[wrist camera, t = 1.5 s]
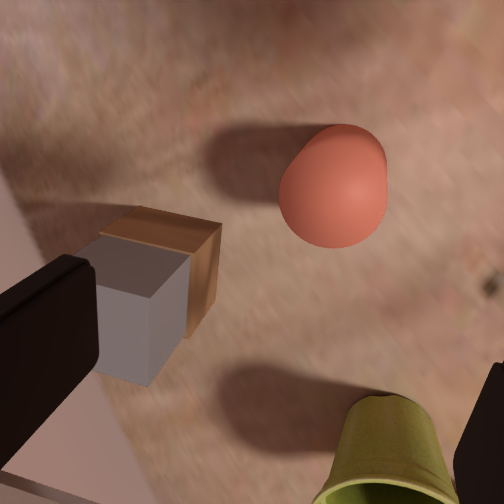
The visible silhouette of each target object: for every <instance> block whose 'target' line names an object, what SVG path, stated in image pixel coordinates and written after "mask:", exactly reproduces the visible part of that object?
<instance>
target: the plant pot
mask: <svg viewBox="0 0 504 504" xmlns="http://www.w3.org/2000/svg"><path fill="white" fill-rule="evenodd" d="M311 504H459V500H458V496H457V495H456V493H455V491H454V488H453V485H452V482H451V479H450V476H449V473H448V470H447V467H446V464H445V461H444V458H443V455H442V452H441V448H440V445H439V442H438V439H437V436H436V432H435V429H434V426H433V424H432V421H431V419H430V417H429V416H428V414H427V413H426V412H425V411H424V410H423V409H422V408H421V407H420V406H419V405H417V404H416V403H414V402H412V401H410V400H408V399H406V398H403V397H400V396H397V395H390V396H384V397H378V396H368V397H365V398H363V399H361V400H359V401H358V402H356V403H355V404H354V405H353V406H352V407H351V408H350V410H349V411H348V413H347V416H346V419H345V423H344V426H343V430H342V434H341V437H340V441H339V444H338V448H337V451H336V454H335V458H334V461H333V465H332V468H331V471H330V475H329V478H328V479H327V481H326V482H325V484H324V486H323V488H322V490H321V491H320V492H319V493H318V494H317V495H316V497H315V498H314V500H313V502H312V503H311Z"/></svg>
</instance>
